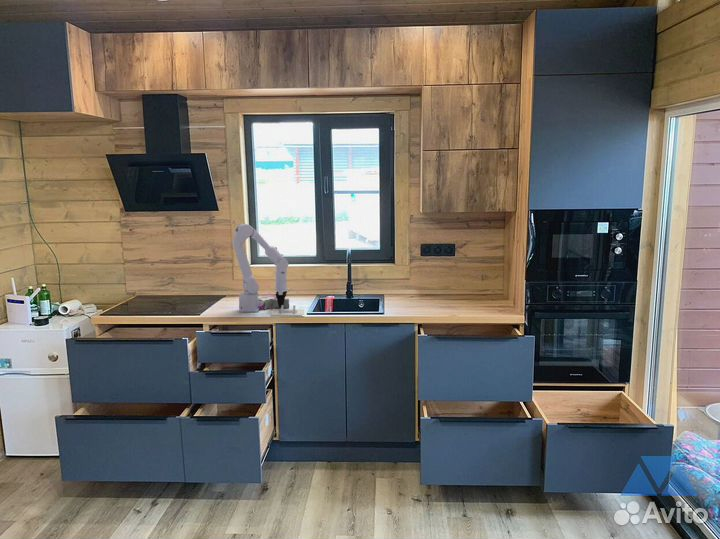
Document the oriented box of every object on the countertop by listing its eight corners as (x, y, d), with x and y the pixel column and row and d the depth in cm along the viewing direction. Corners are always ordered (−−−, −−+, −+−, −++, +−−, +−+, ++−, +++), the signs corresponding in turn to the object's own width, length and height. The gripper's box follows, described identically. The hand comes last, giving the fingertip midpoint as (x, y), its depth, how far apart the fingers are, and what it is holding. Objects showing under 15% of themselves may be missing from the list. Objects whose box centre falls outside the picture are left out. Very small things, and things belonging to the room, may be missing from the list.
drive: (273, 309, 280) (273, 299, 279) (273, 307, 284) (273, 298, 283) (289, 309, 280) (289, 300, 280) (289, 308, 285) (289, 298, 284)
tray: (270, 316, 264) (270, 309, 264) (272, 310, 278) (272, 304, 277) (303, 316, 265) (304, 309, 265) (304, 310, 279) (304, 304, 279)
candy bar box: (268, 302, 298) (247, 307, 284) (268, 293, 297) (247, 297, 283) (284, 305, 292) (264, 309, 278) (284, 296, 292) (264, 300, 278)
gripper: (288, 282, 273) (288, 309, 275) (289, 278, 288) (289, 303, 289) (274, 282, 273) (274, 308, 274) (276, 278, 287) (276, 303, 289)
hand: (281, 306), depth 282 cm, fingers closed on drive, 4 cm apart
